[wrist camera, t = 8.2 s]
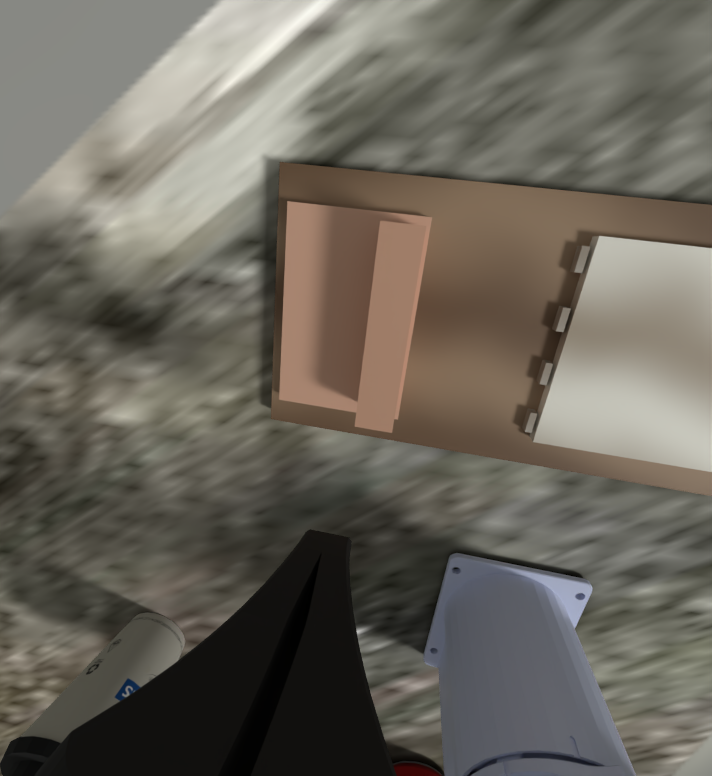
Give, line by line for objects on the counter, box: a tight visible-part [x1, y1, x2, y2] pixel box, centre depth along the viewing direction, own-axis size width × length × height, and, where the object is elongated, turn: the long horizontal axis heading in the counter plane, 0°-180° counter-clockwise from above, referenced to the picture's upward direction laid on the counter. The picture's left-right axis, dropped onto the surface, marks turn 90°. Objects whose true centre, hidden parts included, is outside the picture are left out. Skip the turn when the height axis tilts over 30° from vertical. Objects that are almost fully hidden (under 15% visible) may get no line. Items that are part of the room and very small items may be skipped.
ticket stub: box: [279, 201, 432, 433], centre depth 16 cm, size 9×6×3 cm, turn 174°
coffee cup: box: [0, 612, 185, 776], centre depth 25 cm, size 7×7×10 cm
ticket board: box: [271, 162, 712, 496], centre depth 17 cm, size 12×24×2 cm, turn 84°
